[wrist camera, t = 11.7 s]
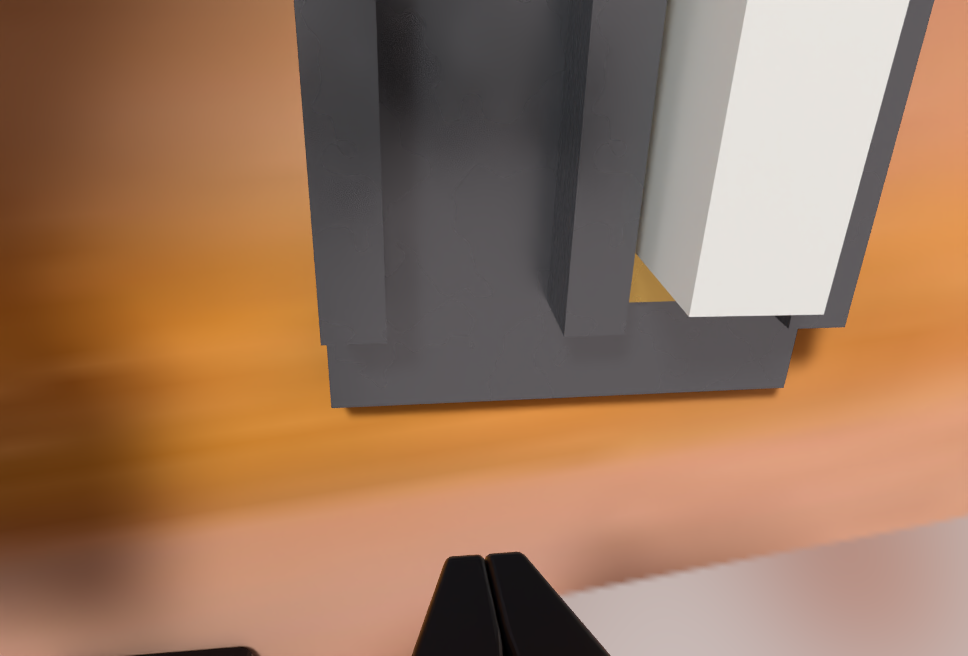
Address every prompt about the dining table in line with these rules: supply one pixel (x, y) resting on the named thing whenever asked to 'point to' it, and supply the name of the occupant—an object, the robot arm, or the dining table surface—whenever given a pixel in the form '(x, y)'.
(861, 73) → the white rectangular prism
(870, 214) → the rack
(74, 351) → the dining table surface
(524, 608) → the robot arm
